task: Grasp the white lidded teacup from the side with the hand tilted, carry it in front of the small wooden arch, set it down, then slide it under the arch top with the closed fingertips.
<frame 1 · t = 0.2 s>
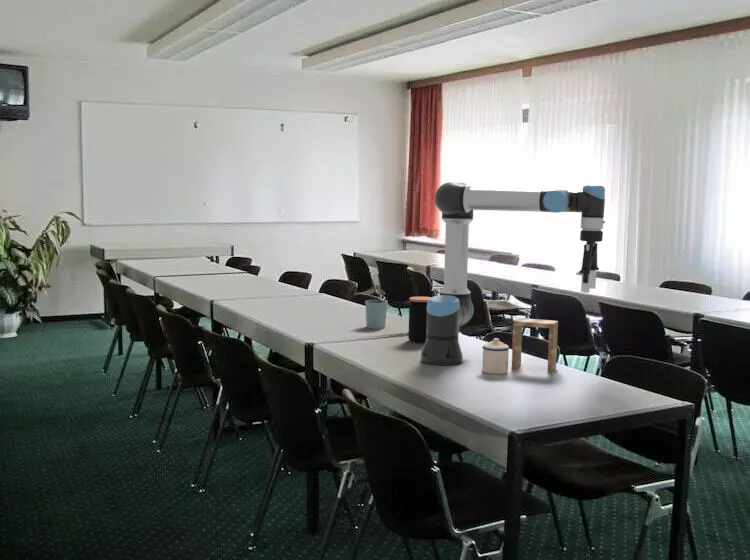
hand: (588, 290, 279), 28 cm above the table, tool pointing down, fingers open, 13 cm apart
coffee jar: (421, 341, 328), on the table
wooden arch: (533, 368, 279), on the table
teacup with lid: (493, 371, 274), on the table
drinking glass: (375, 327, 360), on the table
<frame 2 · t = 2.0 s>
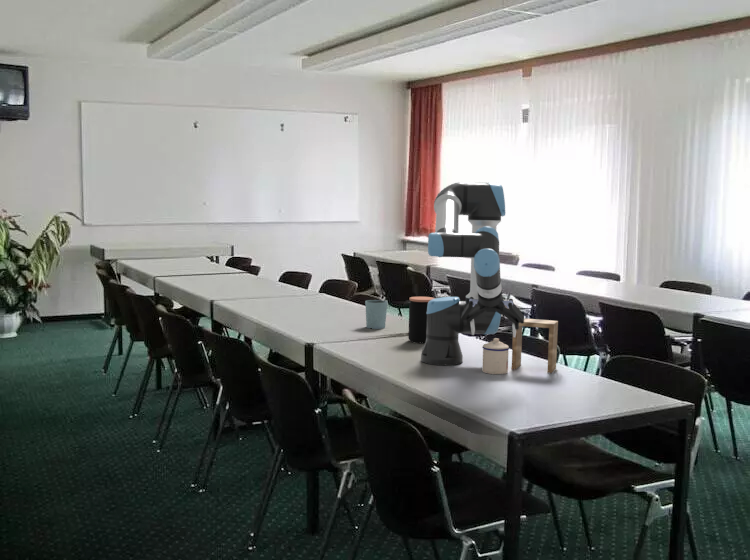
hand: (493, 333, 263), 15 cm above the table, tool tilted 40°, fingers open, 13 cm apart
nothing on the table moved.
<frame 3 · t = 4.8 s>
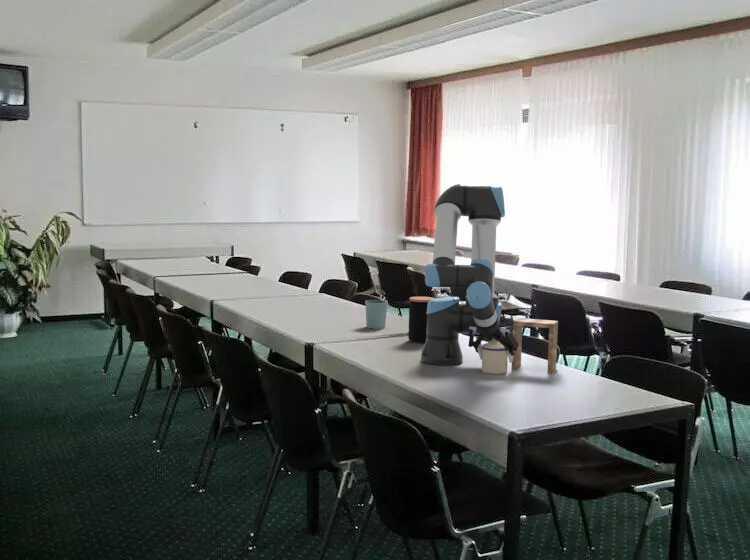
hand: (496, 358, 277), 4 cm above the table, tool tilted 45°, fingers closed on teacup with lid, 10 cm apart
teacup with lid: (492, 371, 275), on the table, touching gripper
everything else where it was.
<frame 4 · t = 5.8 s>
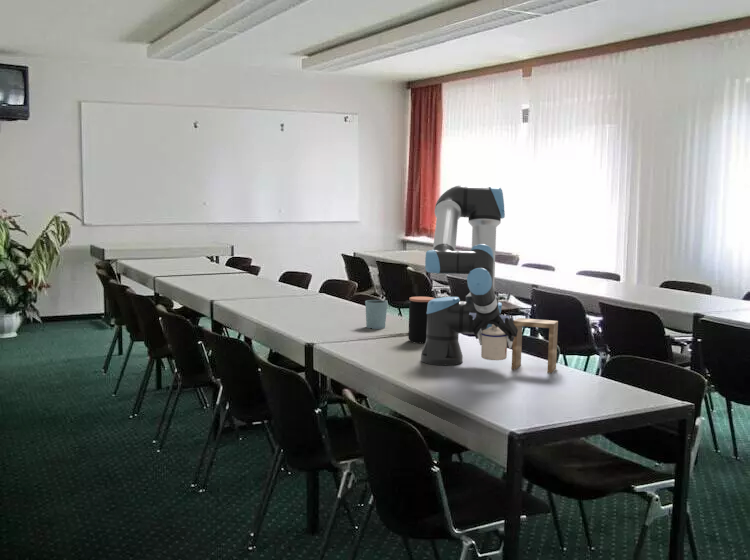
hand: (496, 343, 276), 9 cm above the table, tool tilted 45°, fingers closed on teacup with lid, 9 cm apart
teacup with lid: (492, 357, 274), point 5 cm above the table, touching gripper
everything else where it was.
when the fingers open (5 cm above the table, at t = 9.8 s): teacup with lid drops 1 cm, on the table.
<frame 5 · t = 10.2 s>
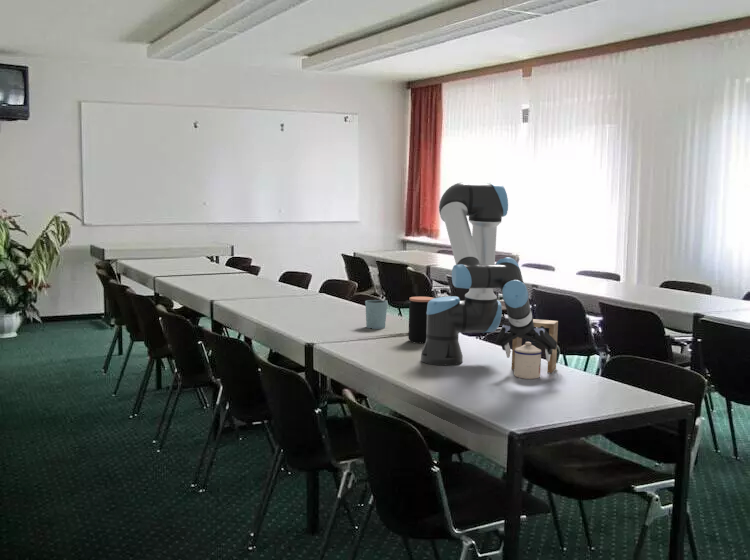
hand: (528, 356, 269), 6 cm above the table, tool tilted 45°, fingers open, 13 cm apart
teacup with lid: (525, 375, 269), on the table
everything else where it was.
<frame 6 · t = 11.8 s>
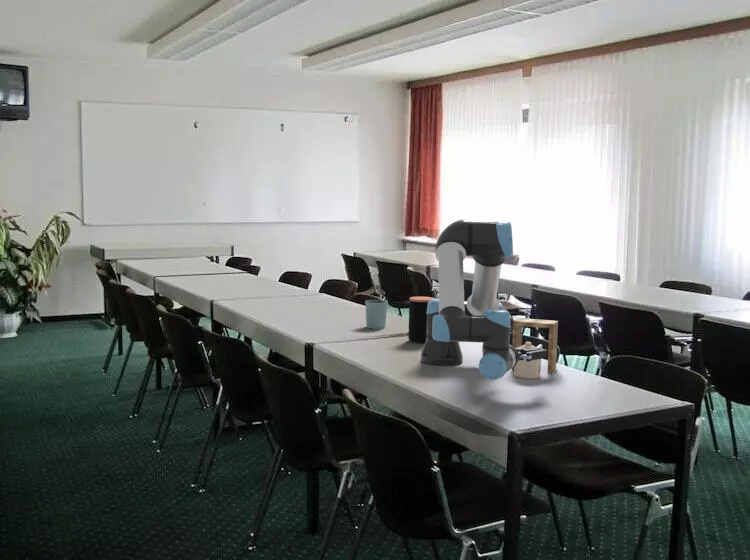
hand: (519, 346, 255), 12 cm above the table, tool horizontal, fingers open, 13 cm apart
nothing on the table moved.
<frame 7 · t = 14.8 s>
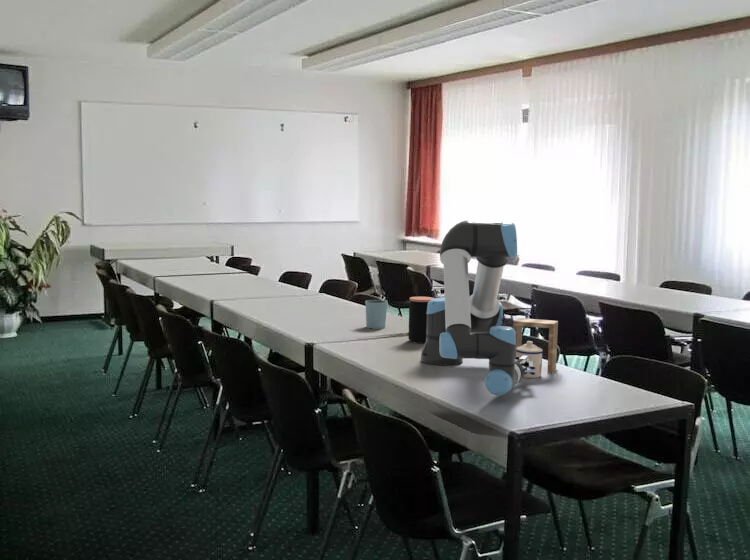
hand: (526, 359, 263), 6 cm above the table, tool horizontal, fingers closed
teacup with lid: (526, 374, 270), on the table, touching gripper
everything else where it was.
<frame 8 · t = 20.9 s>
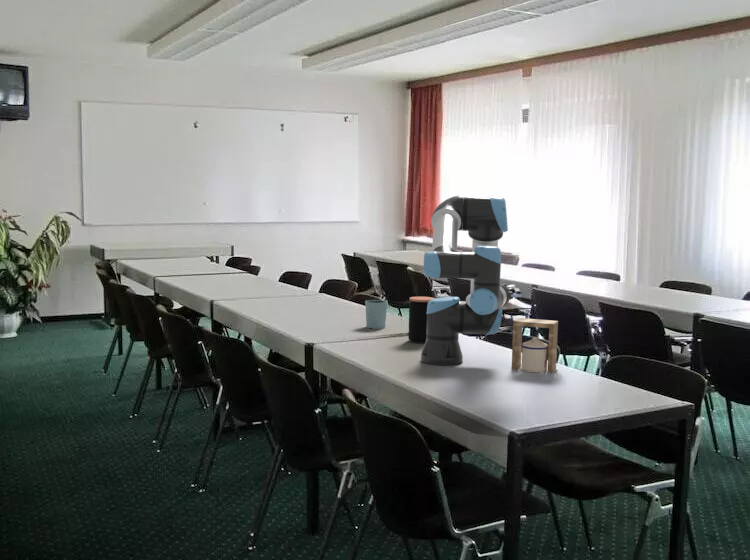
hand: (513, 288, 260), 30 cm above the table, tool horizontal, fingers closed
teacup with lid: (532, 369, 278), on the table
everything else where it was.
at the end: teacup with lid inside the target area (1.1 cm from its centre), on the table; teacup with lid tilted 0°; the gripper is holding nothing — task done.
